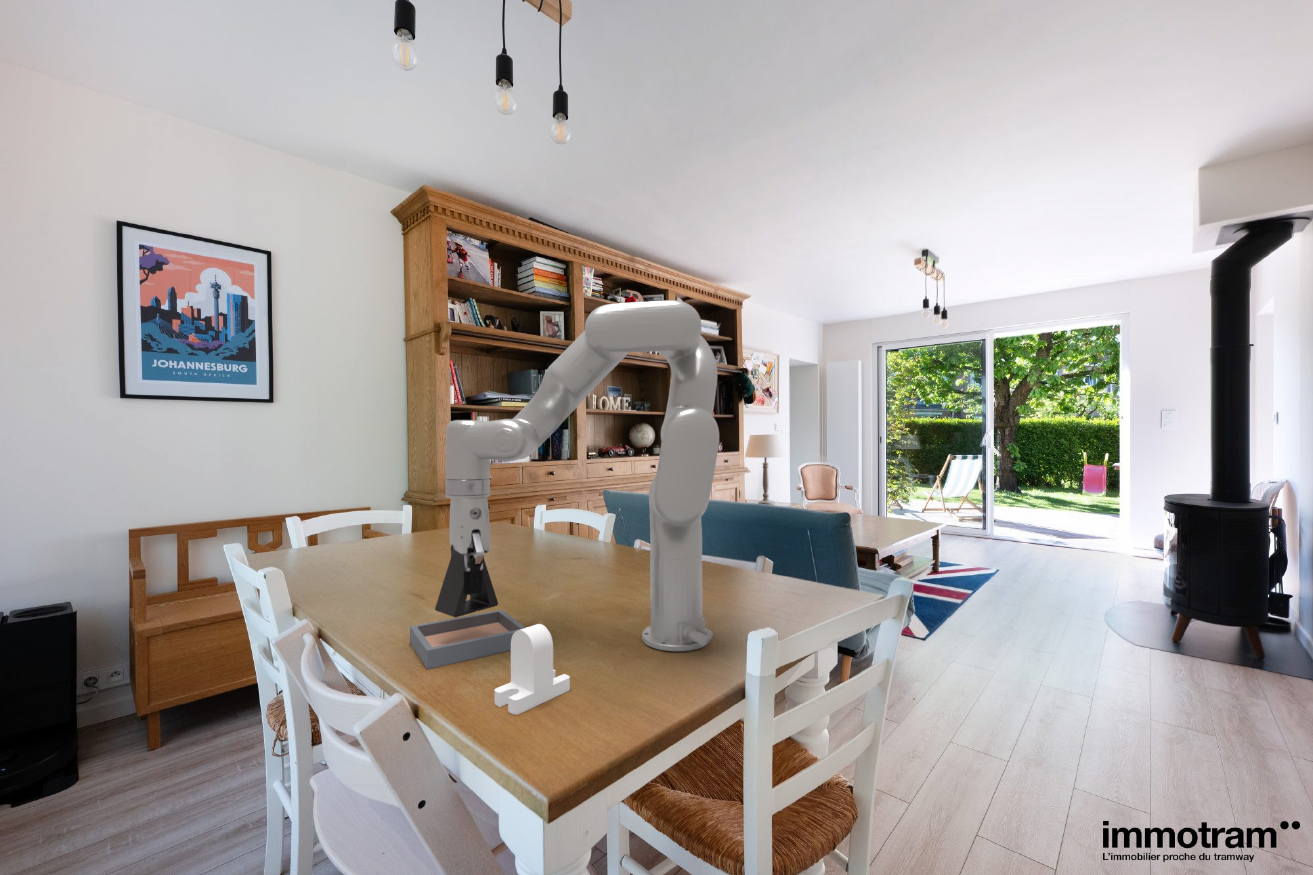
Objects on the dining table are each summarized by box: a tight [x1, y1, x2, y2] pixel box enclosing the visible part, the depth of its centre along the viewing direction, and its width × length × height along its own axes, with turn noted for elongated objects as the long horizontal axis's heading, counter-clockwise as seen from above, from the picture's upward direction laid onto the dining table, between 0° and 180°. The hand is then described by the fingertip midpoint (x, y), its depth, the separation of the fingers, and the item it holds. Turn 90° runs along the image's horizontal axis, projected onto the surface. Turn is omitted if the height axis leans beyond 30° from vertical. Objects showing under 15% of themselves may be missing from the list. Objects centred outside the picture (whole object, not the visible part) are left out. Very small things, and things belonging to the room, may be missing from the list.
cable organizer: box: [493, 623, 571, 716], centre depth 79 cm, size 5×10×10 cm, turn 140°
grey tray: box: [409, 609, 527, 670], centre depth 99 cm, size 14×17×3 cm
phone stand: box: [434, 545, 499, 618], centre depth 99 cm, size 9×6×12 cm, turn 142°
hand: (467, 587), depth 99 cm, fingers closed on phone stand, 6 cm apart
